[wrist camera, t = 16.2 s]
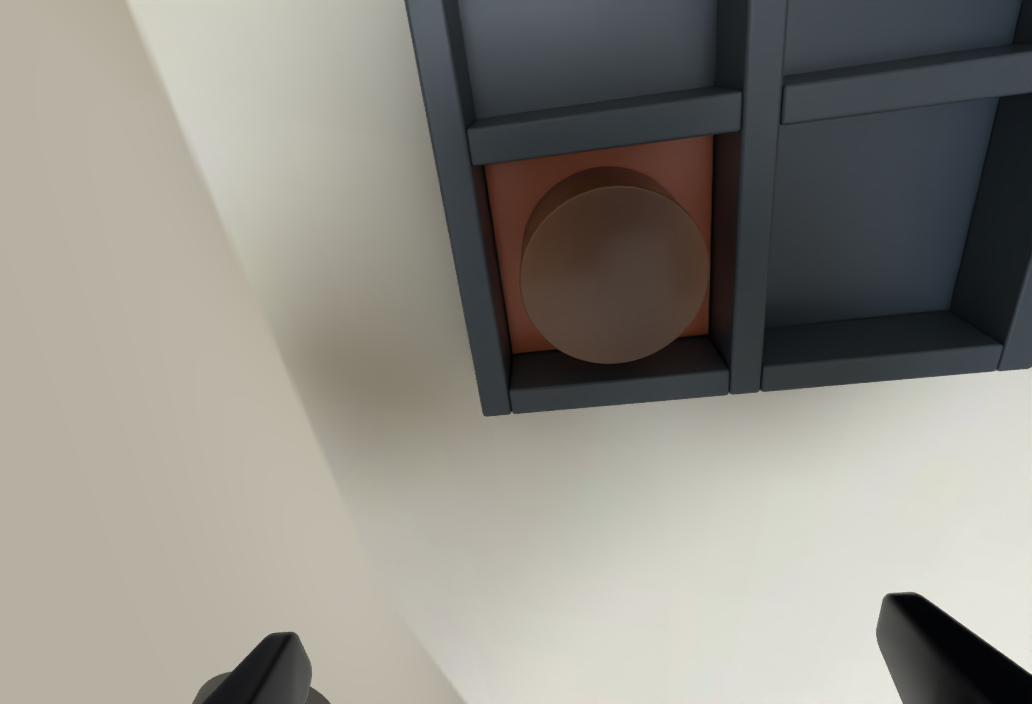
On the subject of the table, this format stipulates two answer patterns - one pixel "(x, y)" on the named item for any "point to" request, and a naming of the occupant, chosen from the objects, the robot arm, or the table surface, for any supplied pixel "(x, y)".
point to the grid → (748, 181)
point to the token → (611, 266)
